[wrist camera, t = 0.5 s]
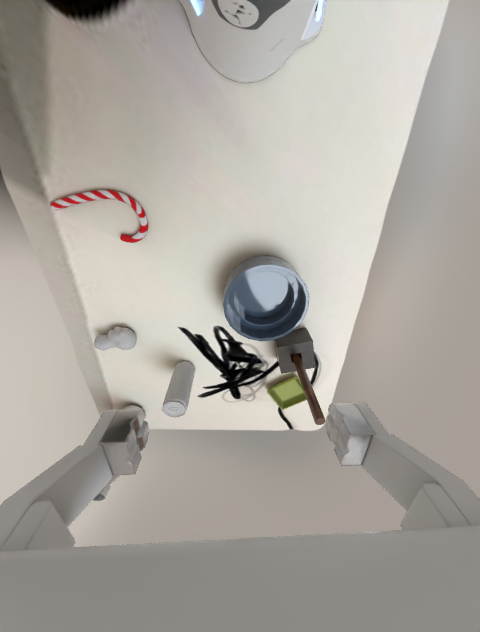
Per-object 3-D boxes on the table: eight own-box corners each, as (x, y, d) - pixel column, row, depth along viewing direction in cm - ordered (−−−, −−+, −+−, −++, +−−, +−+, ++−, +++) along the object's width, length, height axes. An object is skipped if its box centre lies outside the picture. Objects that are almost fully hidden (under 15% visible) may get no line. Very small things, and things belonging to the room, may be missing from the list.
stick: (288, 340, 52) (317, 417, 34) (295, 341, 52) (327, 419, 35) (286, 345, 53) (313, 424, 35) (293, 347, 53) (323, 425, 35)
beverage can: (194, 376, 56) (185, 419, 46) (174, 373, 56) (161, 416, 45) (196, 361, 54) (187, 403, 44) (176, 358, 53) (162, 399, 43)
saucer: (296, 371, 57) (298, 377, 55) (309, 391, 60) (312, 397, 58) (265, 384, 59) (266, 391, 57) (280, 403, 62) (281, 410, 61)
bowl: (233, 246, 41) (233, 255, 36) (311, 264, 43) (322, 275, 38) (218, 317, 48) (216, 333, 43) (285, 329, 50) (292, 346, 45)
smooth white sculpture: (138, 323, 50) (140, 345, 51) (100, 324, 49) (104, 346, 50) (129, 328, 46) (132, 352, 47) (88, 329, 45) (92, 353, 46)
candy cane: (42, 182, 34) (144, 194, 35) (48, 182, 35) (146, 194, 36) (56, 235, 38) (148, 245, 39) (61, 234, 39) (150, 243, 40)
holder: (273, 333, 51) (276, 347, 46) (306, 327, 50) (313, 340, 46) (277, 358, 54) (281, 373, 50) (308, 353, 54) (314, 367, 49)
